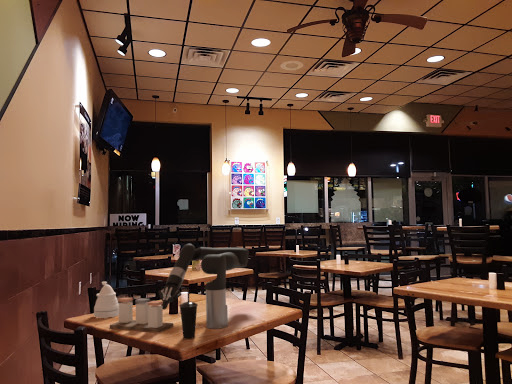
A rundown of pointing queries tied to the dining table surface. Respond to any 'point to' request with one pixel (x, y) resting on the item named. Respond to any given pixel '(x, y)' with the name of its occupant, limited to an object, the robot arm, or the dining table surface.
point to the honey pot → (106, 303)
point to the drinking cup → (188, 318)
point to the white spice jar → (125, 310)
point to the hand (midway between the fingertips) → (163, 308)
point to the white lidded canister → (155, 314)
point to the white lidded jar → (142, 311)
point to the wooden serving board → (140, 326)
